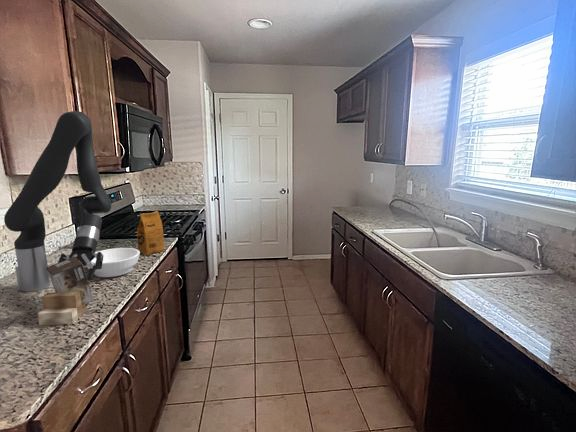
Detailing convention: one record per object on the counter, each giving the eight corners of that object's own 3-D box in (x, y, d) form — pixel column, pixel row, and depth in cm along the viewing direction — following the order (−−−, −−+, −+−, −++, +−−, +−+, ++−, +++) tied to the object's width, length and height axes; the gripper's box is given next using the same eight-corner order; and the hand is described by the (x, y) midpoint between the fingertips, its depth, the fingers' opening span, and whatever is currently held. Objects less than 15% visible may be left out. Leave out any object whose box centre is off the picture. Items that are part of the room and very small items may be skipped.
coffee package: (135, 252, 177) (132, 212, 172) (157, 247, 186) (154, 209, 182) (145, 256, 170) (141, 215, 166) (166, 250, 180) (163, 211, 176)
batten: (39, 325, 103) (37, 313, 102) (45, 320, 105) (43, 309, 105) (73, 323, 104) (71, 312, 103) (78, 319, 106) (76, 307, 106)
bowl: (76, 274, 146) (74, 256, 144) (126, 261, 163) (125, 245, 162) (99, 286, 132) (97, 267, 131) (151, 270, 150) (149, 253, 148)
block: (45, 319, 105) (41, 296, 104) (55, 311, 111) (52, 289, 109) (77, 318, 106) (74, 295, 105) (86, 310, 112) (83, 288, 110)
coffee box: (86, 291, 121) (75, 255, 113) (94, 299, 117) (83, 262, 110) (59, 304, 114) (45, 266, 107) (66, 313, 111) (52, 275, 103)
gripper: (61, 236, 118) (47, 278, 109) (102, 234, 120) (92, 275, 111) (71, 246, 125) (59, 286, 116) (110, 244, 126) (101, 283, 117)
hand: (75, 280), depth 113 cm, fingers open, 8 cm apart
